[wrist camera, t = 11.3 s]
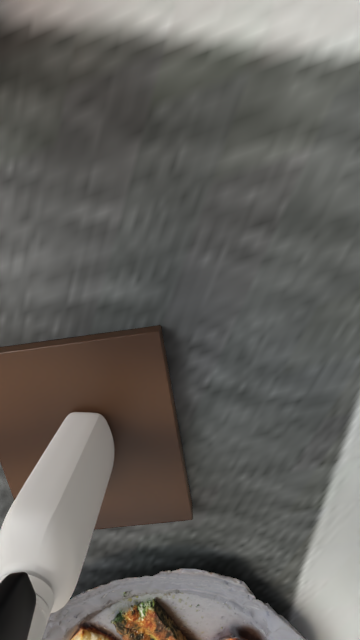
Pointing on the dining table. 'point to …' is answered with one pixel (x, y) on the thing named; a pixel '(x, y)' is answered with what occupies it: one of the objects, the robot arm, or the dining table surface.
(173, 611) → the food plate
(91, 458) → the eye dropper bottle
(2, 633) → the robot arm
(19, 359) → the walnut board
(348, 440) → the dining table surface
